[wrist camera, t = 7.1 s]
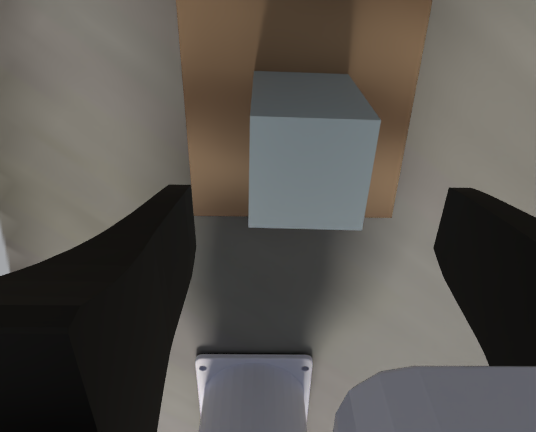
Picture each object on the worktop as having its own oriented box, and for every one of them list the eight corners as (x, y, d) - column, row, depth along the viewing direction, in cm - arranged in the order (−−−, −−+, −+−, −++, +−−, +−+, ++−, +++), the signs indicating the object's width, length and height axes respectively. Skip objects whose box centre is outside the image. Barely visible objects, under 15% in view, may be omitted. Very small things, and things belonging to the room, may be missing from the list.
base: (382, 198, 24) (391, 217, 22) (198, 197, 24) (193, 215, 22) (417, -6, 19) (432, -3, 17) (183, -11, 19) (175, -7, 17)
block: (337, 161, 21) (361, 230, 15) (252, 158, 20) (248, 227, 15) (348, 73, 18) (381, 120, 13) (253, 70, 18) (249, 115, 13)
